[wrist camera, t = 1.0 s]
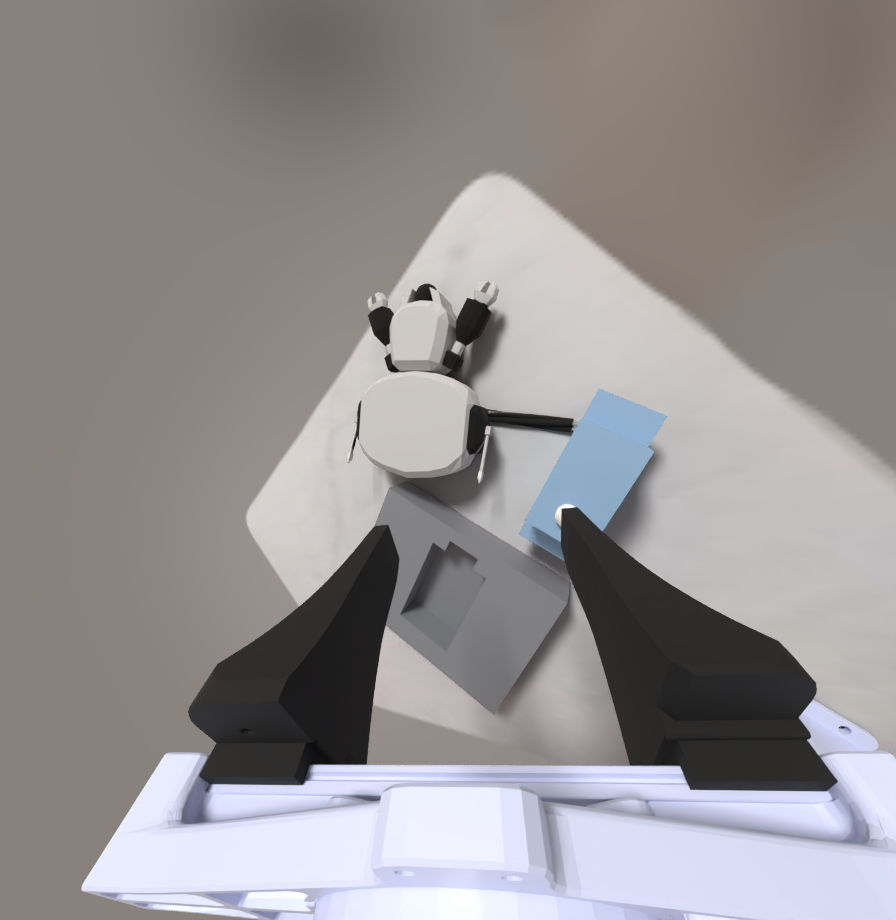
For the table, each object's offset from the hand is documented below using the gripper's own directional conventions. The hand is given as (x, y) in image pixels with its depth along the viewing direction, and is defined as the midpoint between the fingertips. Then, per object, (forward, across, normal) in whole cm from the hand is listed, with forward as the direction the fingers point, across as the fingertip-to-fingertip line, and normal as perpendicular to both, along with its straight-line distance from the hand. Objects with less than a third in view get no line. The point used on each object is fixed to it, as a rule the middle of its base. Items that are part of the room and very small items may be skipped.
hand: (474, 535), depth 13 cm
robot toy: (+17, +3, -2) cm, 17 cm away
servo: (+10, -8, +4) cm, 13 cm away
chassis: (+10, +3, +14) cm, 17 cm away
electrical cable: (+14, -3, +1) cm, 14 cm away
